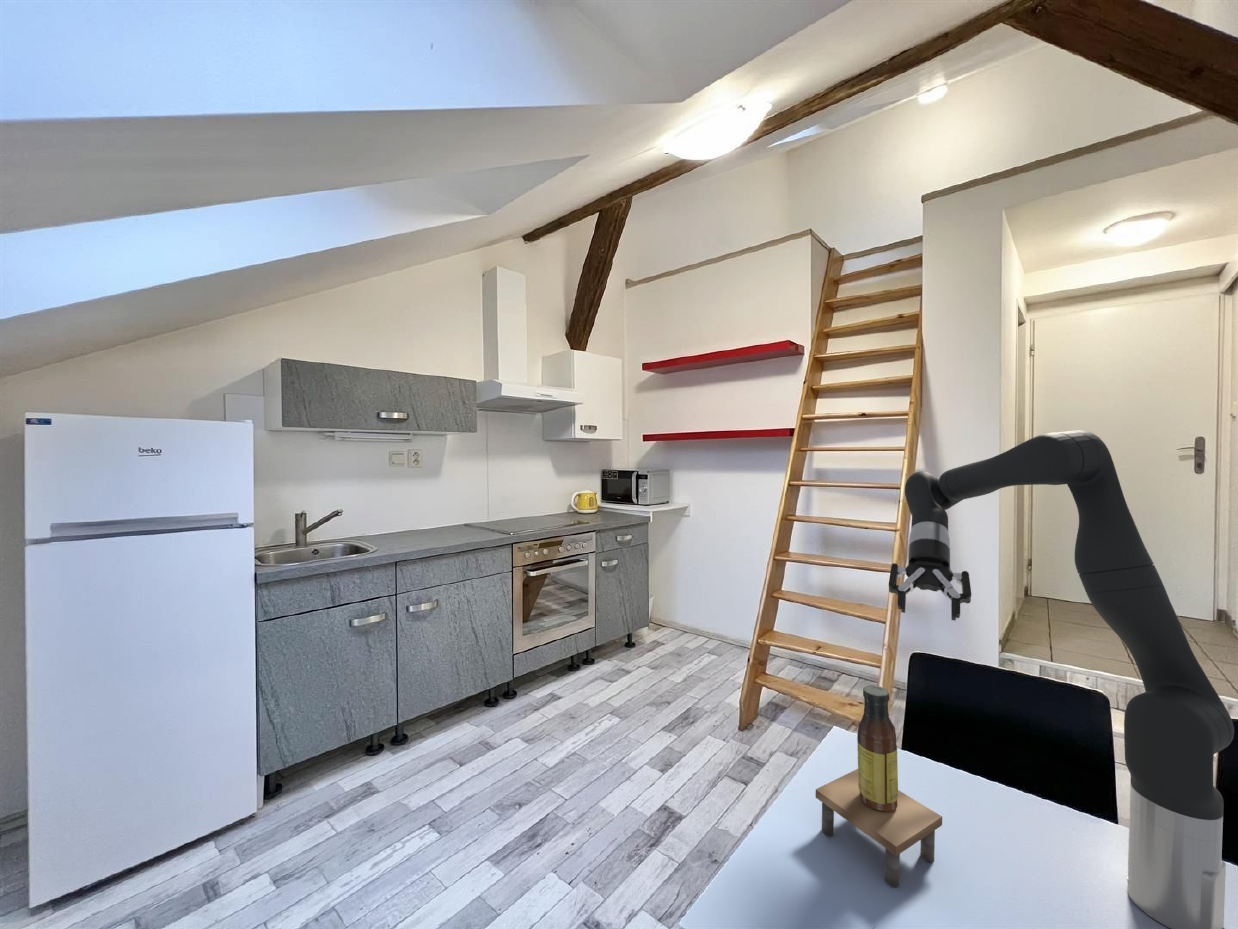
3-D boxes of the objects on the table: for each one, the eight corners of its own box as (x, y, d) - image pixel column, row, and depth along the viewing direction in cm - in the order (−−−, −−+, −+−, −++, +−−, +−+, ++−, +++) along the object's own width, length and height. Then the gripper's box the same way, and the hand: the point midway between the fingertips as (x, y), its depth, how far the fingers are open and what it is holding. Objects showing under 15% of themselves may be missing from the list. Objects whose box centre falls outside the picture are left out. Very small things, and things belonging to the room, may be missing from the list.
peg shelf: (941, 860, 84) (942, 816, 83) (895, 894, 77) (896, 846, 77) (860, 805, 97) (860, 767, 96) (815, 830, 90) (815, 789, 90)
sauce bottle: (888, 791, 90) (890, 682, 89) (904, 816, 83) (907, 699, 83) (850, 788, 90) (852, 680, 90) (864, 813, 84) (866, 697, 84)
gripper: (891, 534, 109) (886, 598, 100) (970, 540, 102) (973, 611, 92) (892, 554, 114) (887, 617, 104) (968, 561, 106) (970, 630, 97)
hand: (928, 614), depth 98 cm, fingers open, 8 cm apart
